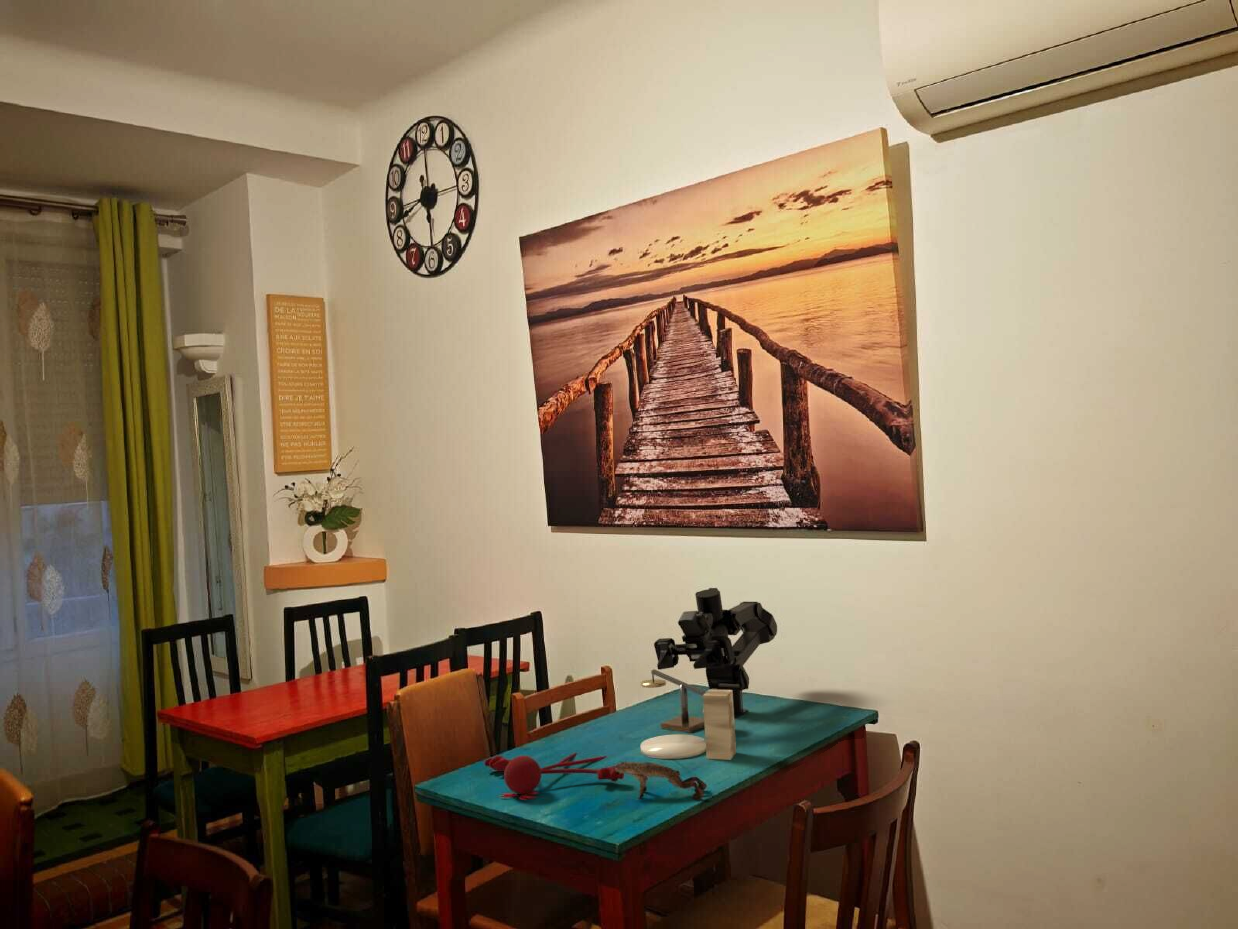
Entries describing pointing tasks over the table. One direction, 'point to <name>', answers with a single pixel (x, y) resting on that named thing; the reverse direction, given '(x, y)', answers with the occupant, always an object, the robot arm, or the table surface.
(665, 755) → the saucer
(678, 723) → the balance
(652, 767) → the toy
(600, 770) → the toy
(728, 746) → the birch block
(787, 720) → the table surface
